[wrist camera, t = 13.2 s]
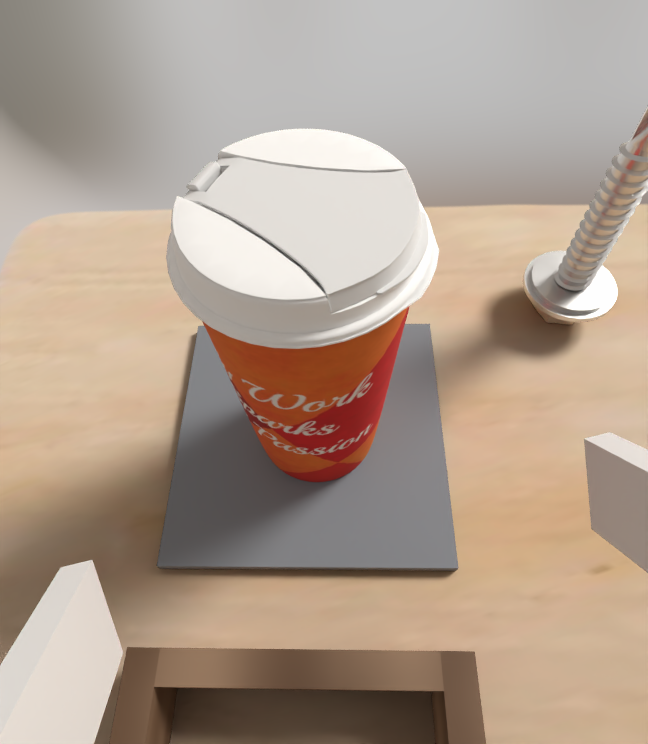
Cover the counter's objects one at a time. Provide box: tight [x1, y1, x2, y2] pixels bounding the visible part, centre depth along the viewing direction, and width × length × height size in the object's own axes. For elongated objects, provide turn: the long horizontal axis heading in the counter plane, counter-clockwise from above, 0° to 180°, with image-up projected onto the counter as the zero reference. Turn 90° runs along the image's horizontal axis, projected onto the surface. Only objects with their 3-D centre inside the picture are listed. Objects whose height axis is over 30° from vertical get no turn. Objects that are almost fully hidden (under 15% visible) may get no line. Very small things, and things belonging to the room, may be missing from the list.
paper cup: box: [166, 129, 439, 482], centre depth 20 cm, size 8×8×14 cm
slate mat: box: [157, 324, 458, 571], centre depth 26 cm, size 13×13×1 cm
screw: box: [523, 106, 648, 325], centre depth 25 cm, size 13×5×5 cm
